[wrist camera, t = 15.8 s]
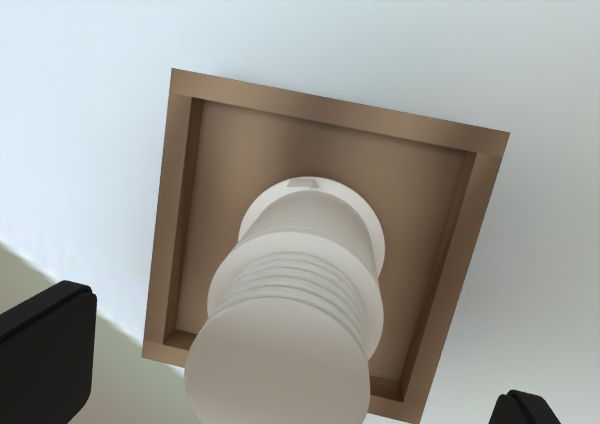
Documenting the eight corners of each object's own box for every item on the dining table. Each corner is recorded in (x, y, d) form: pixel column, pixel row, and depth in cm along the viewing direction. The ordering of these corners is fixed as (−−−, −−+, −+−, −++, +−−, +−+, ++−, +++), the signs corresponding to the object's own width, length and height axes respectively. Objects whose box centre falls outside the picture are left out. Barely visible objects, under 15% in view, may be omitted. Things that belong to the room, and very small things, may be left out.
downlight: (236, 164, 19) (118, 228, 9) (388, 165, 18) (436, 237, 8) (244, 315, 21) (155, 499, 11) (380, 322, 20) (411, 527, 10)
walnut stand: (468, 130, 21) (510, 132, 16) (402, 358, 24) (418, 425, 19) (214, 81, 22) (171, 67, 16) (185, 307, 25) (141, 357, 20)
